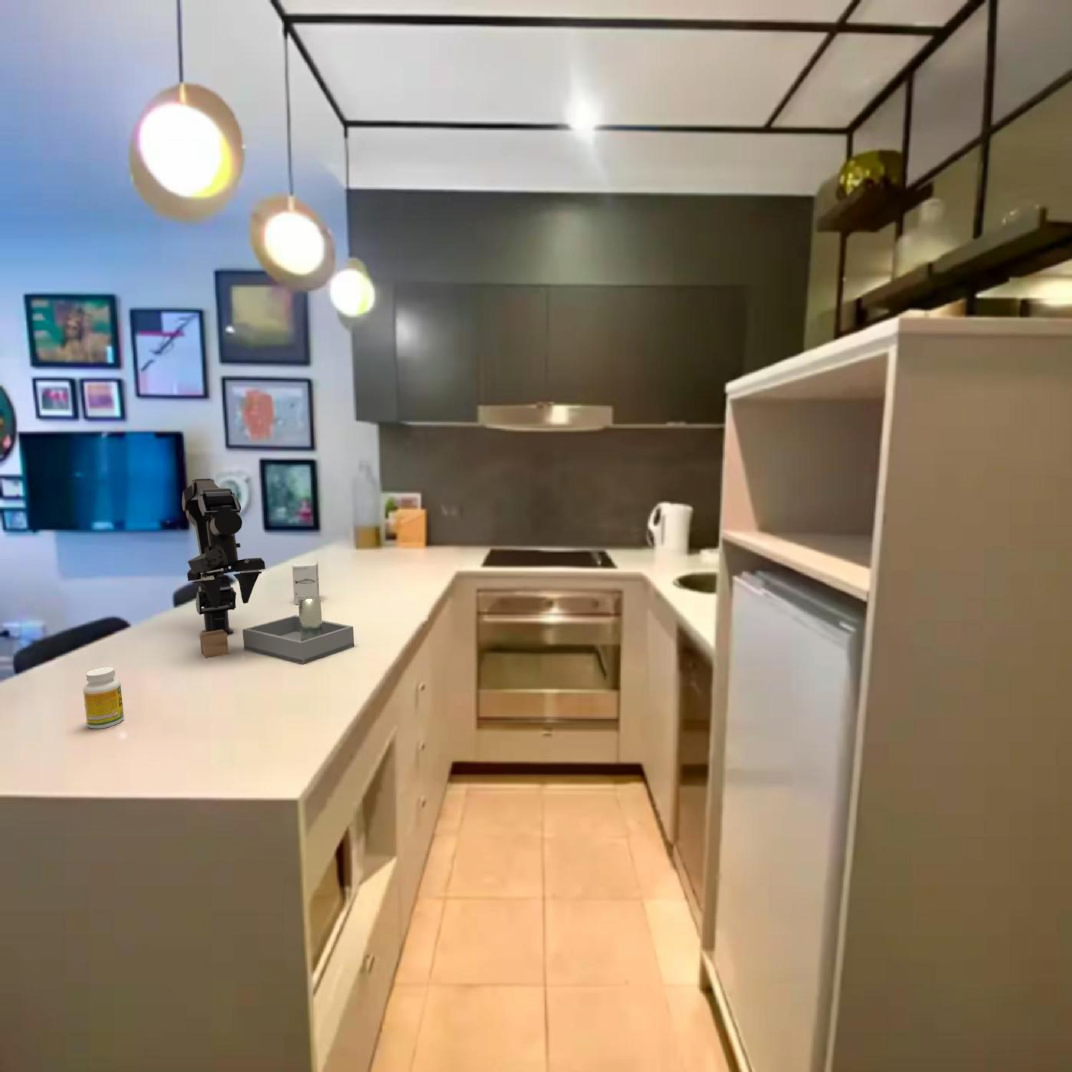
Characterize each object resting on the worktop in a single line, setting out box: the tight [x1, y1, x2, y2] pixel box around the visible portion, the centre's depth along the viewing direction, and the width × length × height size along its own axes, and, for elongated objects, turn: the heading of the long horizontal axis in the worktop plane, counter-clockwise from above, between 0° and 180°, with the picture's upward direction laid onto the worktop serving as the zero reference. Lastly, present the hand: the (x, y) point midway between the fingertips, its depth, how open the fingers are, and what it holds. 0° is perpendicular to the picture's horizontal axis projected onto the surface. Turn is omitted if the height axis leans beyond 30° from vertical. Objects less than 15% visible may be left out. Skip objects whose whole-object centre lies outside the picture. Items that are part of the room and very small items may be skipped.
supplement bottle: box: [82, 666, 125, 730], centre depth 106 cm, size 5×5×10 cm
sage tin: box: [297, 595, 323, 641], centre depth 144 cm, size 5×5×12 cm
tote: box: [242, 614, 355, 665], centre depth 147 cm, size 22×15×5 cm
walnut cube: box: [199, 629, 230, 659], centre depth 144 cm, size 5×5×5 cm
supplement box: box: [291, 561, 320, 606], centre depth 194 cm, size 7×7×13 cm
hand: (230, 605), depth 142 cm, fingers open, 9 cm apart
